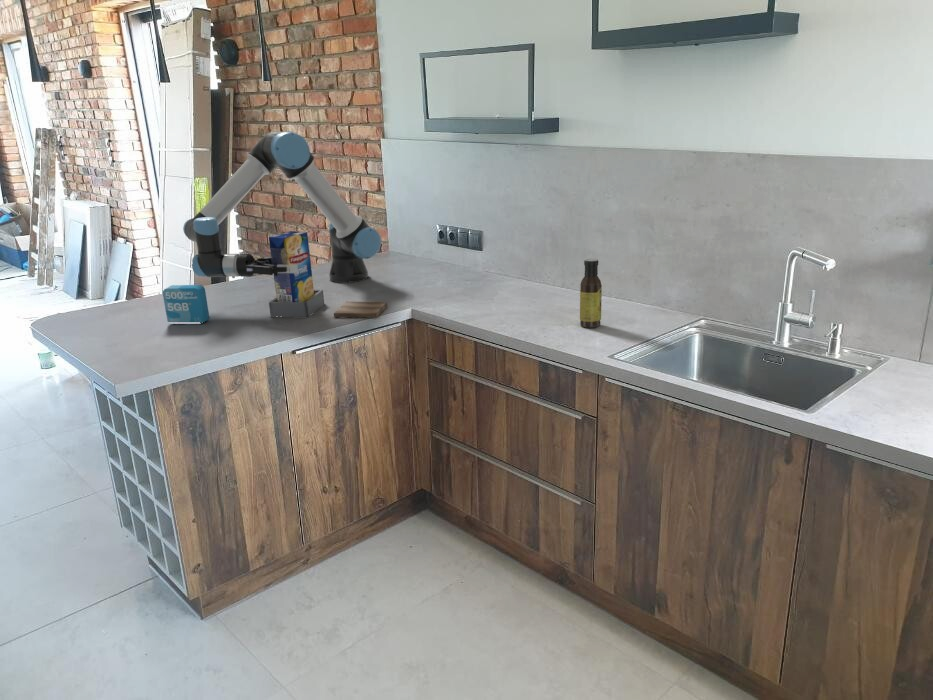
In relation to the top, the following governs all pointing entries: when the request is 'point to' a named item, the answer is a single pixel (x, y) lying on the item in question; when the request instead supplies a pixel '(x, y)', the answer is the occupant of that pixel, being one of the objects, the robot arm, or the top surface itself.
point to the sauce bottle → (590, 295)
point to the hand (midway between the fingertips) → (303, 264)
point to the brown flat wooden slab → (360, 309)
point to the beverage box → (292, 251)
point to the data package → (186, 303)
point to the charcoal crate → (297, 306)
